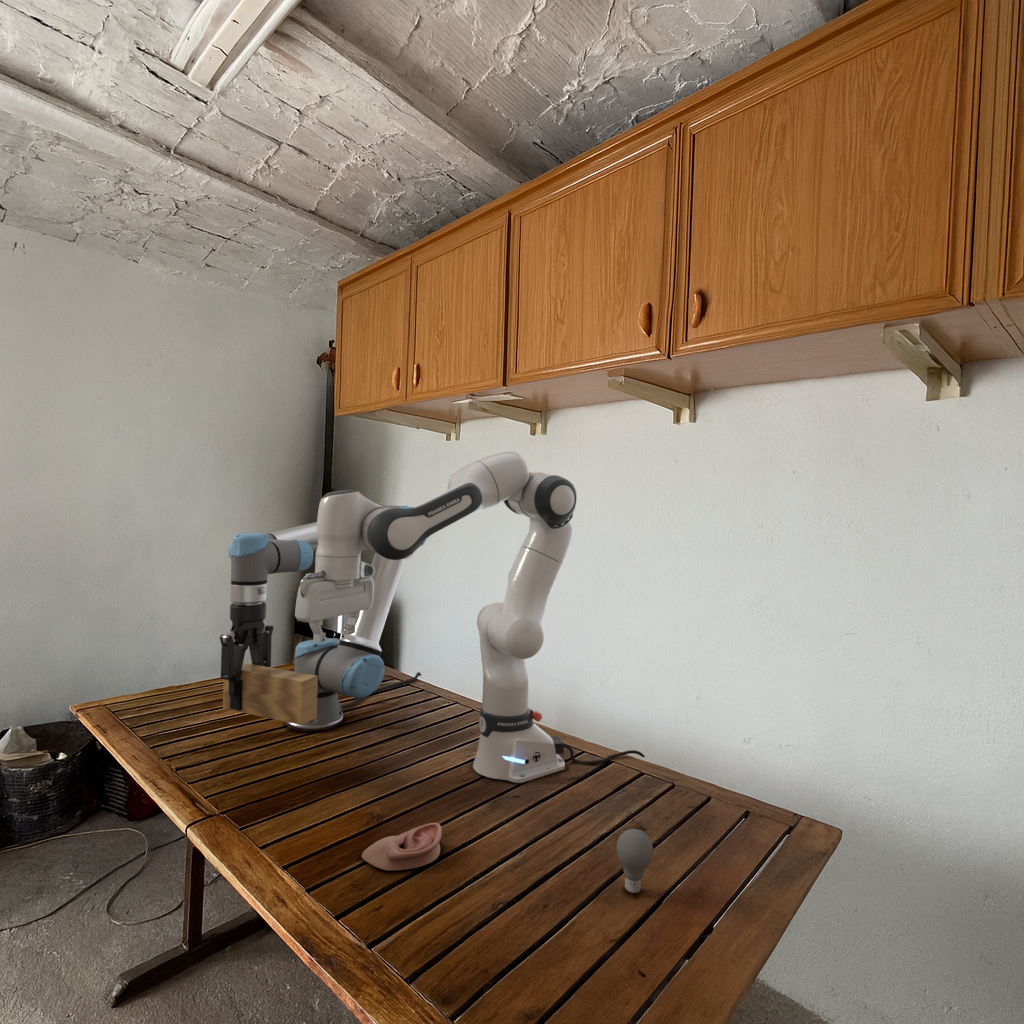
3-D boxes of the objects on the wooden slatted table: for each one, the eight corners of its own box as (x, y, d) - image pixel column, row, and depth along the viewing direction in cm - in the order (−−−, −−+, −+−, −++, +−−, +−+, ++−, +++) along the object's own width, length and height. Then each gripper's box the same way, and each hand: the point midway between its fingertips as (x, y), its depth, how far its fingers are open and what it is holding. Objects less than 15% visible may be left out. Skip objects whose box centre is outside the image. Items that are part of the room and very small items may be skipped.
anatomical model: (354, 842, 109) (381, 811, 120) (353, 865, 109) (380, 831, 121) (427, 854, 107) (448, 821, 118) (426, 877, 107) (447, 842, 118)
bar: (222, 708, 142) (223, 667, 141) (239, 702, 146) (240, 661, 146) (301, 725, 133) (302, 681, 133) (316, 718, 138) (317, 675, 137)
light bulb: (610, 879, 108) (613, 822, 108) (644, 879, 109) (647, 822, 109) (619, 902, 102) (622, 840, 102) (655, 901, 103) (658, 840, 103)
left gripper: (228, 610, 132) (226, 720, 133) (290, 598, 148) (287, 696, 149) (202, 606, 135) (199, 714, 136) (265, 595, 151) (262, 691, 152)
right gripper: (314, 575, 117) (311, 649, 118) (380, 566, 136) (377, 630, 136) (288, 572, 120) (285, 645, 120) (356, 564, 139) (353, 627, 139)
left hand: (245, 705), depth 142 cm, fingers closed on bar, 5 cm apart
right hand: (335, 637), depth 128 cm, fingers open, 8 cm apart
